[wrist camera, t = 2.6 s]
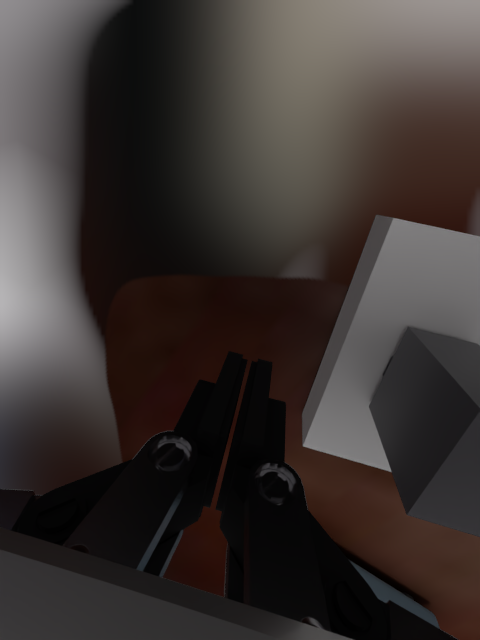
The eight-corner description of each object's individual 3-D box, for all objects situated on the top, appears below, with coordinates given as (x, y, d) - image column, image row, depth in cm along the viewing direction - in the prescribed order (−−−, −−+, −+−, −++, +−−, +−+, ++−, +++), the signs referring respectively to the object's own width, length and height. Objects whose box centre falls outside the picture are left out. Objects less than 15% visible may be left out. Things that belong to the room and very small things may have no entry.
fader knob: (476, 343, 13) (599, 440, 8) (427, 422, 16) (499, 542, 10) (408, 326, 14) (481, 409, 8) (368, 406, 16) (406, 514, 10)
